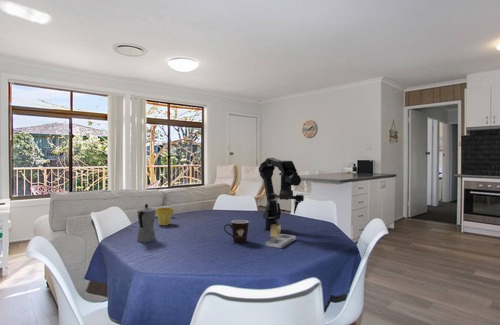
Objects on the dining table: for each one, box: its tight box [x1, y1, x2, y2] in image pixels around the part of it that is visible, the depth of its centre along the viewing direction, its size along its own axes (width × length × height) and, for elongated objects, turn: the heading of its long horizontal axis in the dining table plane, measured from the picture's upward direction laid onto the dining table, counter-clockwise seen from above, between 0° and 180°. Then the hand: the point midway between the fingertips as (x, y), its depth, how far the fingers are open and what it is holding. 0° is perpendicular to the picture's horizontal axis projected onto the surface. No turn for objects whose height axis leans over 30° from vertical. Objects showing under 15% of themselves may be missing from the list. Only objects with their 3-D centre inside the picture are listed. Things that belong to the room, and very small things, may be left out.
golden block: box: [270, 224, 282, 238], centre depth 156 cm, size 4×4×6 cm
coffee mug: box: [223, 219, 249, 244], centre depth 146 cm, size 12×9×10 cm
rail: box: [265, 233, 297, 249], centre depth 144 cm, size 8×18×2 cm, turn 149°
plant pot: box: [155, 207, 174, 226], centre depth 183 cm, size 10×10×10 cm
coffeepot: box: [136, 203, 156, 243], centre depth 147 cm, size 15×9×18 cm, turn 0°
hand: (285, 213), depth 156 cm, fingers open, 9 cm apart
